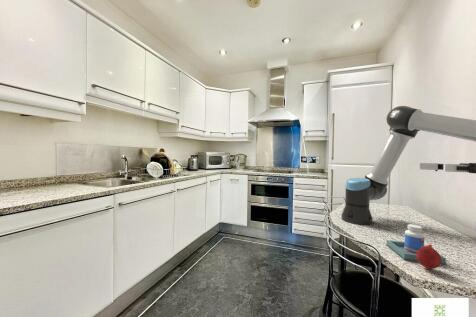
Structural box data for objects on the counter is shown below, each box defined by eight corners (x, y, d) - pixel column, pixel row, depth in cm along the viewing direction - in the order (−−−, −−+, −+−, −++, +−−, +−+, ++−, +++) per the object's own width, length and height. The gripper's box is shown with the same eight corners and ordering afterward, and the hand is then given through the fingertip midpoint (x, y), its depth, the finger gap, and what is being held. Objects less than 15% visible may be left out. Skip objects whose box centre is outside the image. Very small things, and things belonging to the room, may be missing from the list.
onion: (432, 275, 61) (433, 249, 61) (411, 265, 66) (412, 241, 66) (445, 273, 63) (446, 247, 62) (424, 263, 68) (424, 239, 68)
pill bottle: (424, 257, 71) (425, 229, 71) (404, 253, 74) (405, 226, 74) (422, 252, 75) (423, 225, 75) (404, 247, 79) (404, 222, 78)
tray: (386, 245, 82) (386, 240, 82) (421, 248, 80) (421, 243, 80) (404, 260, 70) (404, 253, 70) (445, 264, 68) (445, 258, 68)
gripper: (539, 183, 63) (457, 179, 67) (467, 176, 88) (410, 173, 92) (540, 159, 63) (458, 157, 67) (467, 158, 87) (410, 157, 92)
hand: (430, 166), depth 80 cm, fingers open, 13 cm apart
